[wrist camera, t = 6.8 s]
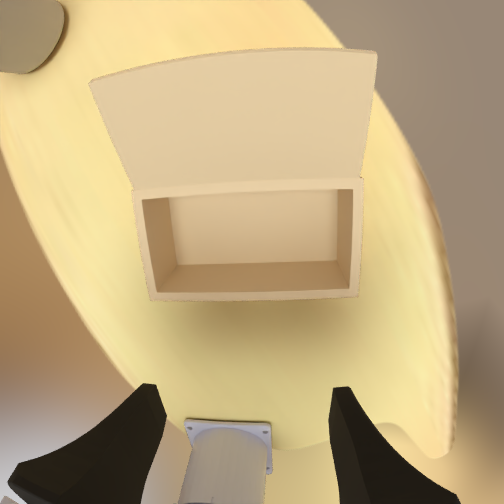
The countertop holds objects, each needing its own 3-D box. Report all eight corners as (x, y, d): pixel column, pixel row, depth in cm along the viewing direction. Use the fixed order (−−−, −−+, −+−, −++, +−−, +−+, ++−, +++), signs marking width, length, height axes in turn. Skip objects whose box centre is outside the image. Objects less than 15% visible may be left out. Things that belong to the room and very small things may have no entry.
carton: (342, 264, 20) (357, 296, 16) (173, 268, 21) (150, 300, 17) (343, 169, 18) (363, 178, 14) (162, 178, 19) (131, 190, 14)
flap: (377, 54, 9) (374, 50, 9) (88, 83, 10) (92, 79, 10) (359, 178, 13) (358, 172, 14) (134, 190, 14) (136, 184, 15)
